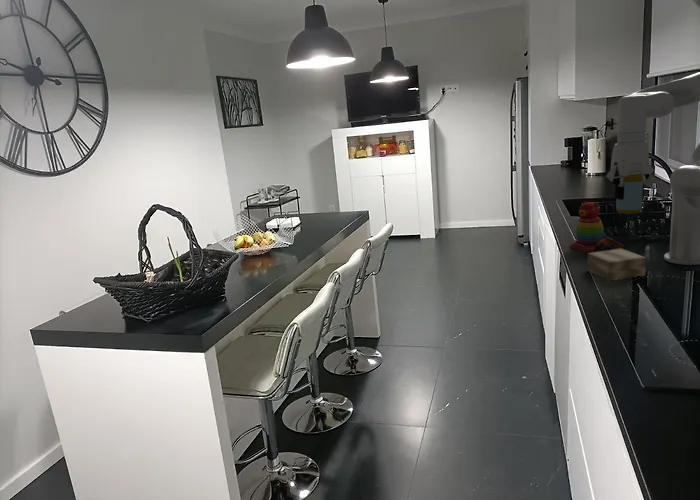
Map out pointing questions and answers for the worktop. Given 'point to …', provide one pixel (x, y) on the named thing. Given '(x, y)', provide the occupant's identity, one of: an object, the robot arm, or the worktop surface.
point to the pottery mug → (607, 245)
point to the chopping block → (616, 264)
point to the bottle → (631, 191)
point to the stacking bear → (588, 228)
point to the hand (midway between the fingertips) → (629, 197)
